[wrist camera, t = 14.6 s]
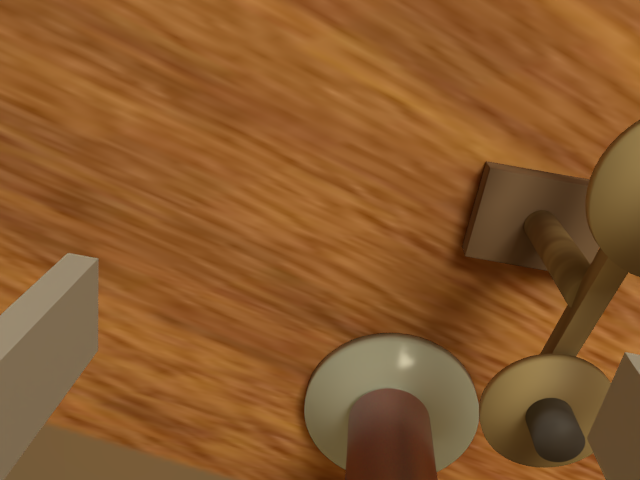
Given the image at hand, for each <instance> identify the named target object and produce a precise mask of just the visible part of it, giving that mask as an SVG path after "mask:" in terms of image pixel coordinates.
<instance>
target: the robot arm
mask: <svg viewBox="0 0 640 480" xmlns="http://www.w3.org/2000/svg"><path fill="white" fill-rule="evenodd" d="M97 351H98V258H93V257H87V256H82V255H76V254H70V253H67V254H66V255H65V256H64V257H63V258H62V259H61V260H60V261H59V262H58V263H56V264H55V265H54V266H53V267H52V268H51V269H50V270H49V271H48V272H47V273H46V274H45V275H43V276H42V277H41V278H40V279H39V280H38V281H37V282H36V283H35V284H34V285H33V286H31V287H30V288H29V289H28V290H27V291H26V292H25V293H24V294H23V295H22V296H21V297H20V298H18V299H17V300H16V301H15V302H14V303H13V304H12V305H11V306H10V307H9V308H8V309H6V310H5V311H4V312H3V313H2V314H1V315H0V480H4V479H5V478H6V476H7V475H8V473H9V472H10V471H11V469H12V468H13V466H14V465H15V464H16V462H17V461H18V460H19V458H20V457H21V456H22V454H23V453H24V451H25V450H26V449H27V447H28V446H29V444H30V443H31V442H32V440H33V439H34V438H35V436H36V435H37V433H38V432H39V431H40V429H41V428H42V427H43V425H44V424H45V423H46V421H47V420H48V418H49V417H50V416H51V414H52V413H53V412H54V410H55V409H56V407H57V406H58V405H59V403H60V402H61V401H62V399H63V398H64V396H65V395H66V394H67V392H68V391H69V389H70V388H71V387H72V385H73V384H74V383H75V381H76V380H77V378H78V377H79V376H80V374H81V373H82V372H83V370H84V369H85V367H86V366H87V365H88V363H89V362H90V361H91V359H92V358H93V356H94V355H95V354H96V352H97ZM587 440H588V442H589V444H590V446H591V448H592V450H593V453H594V455H595V457H596V459H597V461H598V464H599V466H600V468H601V470H602V472H603V474H604V477H605V479H606V480H640V355H637V354H632V353H626V352H625V353H624V356H623V358H622V360H621V362H620V365H619V367H618V369H617V371H616V374H615V376H614V378H613V380H612V383H611V385H610V387H609V389H608V392H607V394H606V396H605V398H604V401H603V403H602V405H601V407H600V410H599V412H598V414H597V416H596V419H595V421H594V423H593V425H592V428H591V430H590V432H589V434H588V437H587Z"/></svg>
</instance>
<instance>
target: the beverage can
mask: <svg viewBox="0 0 640 480" xmlns="http://www.w3.org/2000/svg"><path fill="white" fill-rule="evenodd" d="M345 480H438V479H437V471H436V463H435V456H434V448H433V440H432V432H431V424H430V417H429V413H428V411H427V409H426V407H425V405H424V404H423V403H422V402H421V401H420V400H419V399H418V398H417V397H415V396H414V395H413V394H411V393H409V392H407V391H405V390H402V389H399V388H393V387H383V388H378V389H374V390H372V391H370V392H368V393H366V394H364V395H363V396H362V397H361V398H359V399H358V400H357V401H356V402H355V404H354V405H353V407H352V408H351V410H350V413H349V421H348V439H347V457H346V475H345Z"/></svg>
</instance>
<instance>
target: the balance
mask: <svg viewBox="0 0 640 480" xmlns="http://www.w3.org/2000/svg"><path fill="white" fill-rule="evenodd" d="M599 247H600V248H599ZM462 248H463V251H464V254H465V256H467V257H472V258H478V259H484V260H489V261H495V262H501V263H506V264H512V265H518V266H523V267H529V268H534V269H540V270H546V271H548V272H549V273H550V275H551V277H552V278H553V280H554V282H555V284H556V285H557V287H558V289H559V290H560V292H561V294H562V295H563V297H564V299H565V301H566V302H567V304H568V305H567V307H566V309H565V311H564V313H563V314H562V316H561V318H560V320H559V321H558V323H557V325H556V327H555V329H554V330H553V332H552V334H551V336H550V337H549V339H548V341H547V343H546V345H545V346H544V348H543V350H542V352H541V353H540V354H539V355H534V356H530V357H527V358H523V359H521V360H518V361H516V362H514V363H512V364H510V365H508V366H507V367H505V368H504V369H502V370H501V371H500V372H498V373H497V374H496V375H495V376H494V377H493V378H492V379H491V381H490V382H489V383H488V384H487V386H486V388H485V389H484V391H483V394H482V396H481V399H480V403H479V418H480V423H481V427H482V431H483V433H484V436H485V438H486V439H487V441H488V442H489V444H490V445H491V446H492V447H493V448H494V450H496V451H497V452H498V453H499V454H501V455H502V456H504V457H505V458H507V459H509V460H511V461H513V462H516V463H519V464H522V465H526V466H532V467H557V466H563V465H567V464H571V463H574V462H576V461H579V460H581V459H583V458H585V457H588V456H589V455H591V454H592V453H593V450H592V448H591V446H590V444H589V442H588V440H587V437H588V434H589V432H590V430H591V428H592V425H593V423H594V421H595V419H596V416H597V414H598V412H599V410H600V407H601V405H602V403H603V401H604V398H605V396H606V394H607V392H608V389H609V387H610V385H611V383H610V381H609V380H608V378H607V377H606V376H605V374H604V373H603V372H602V371H601V370H600V369H598V368H597V367H596V366H594V365H593V364H591V363H589V362H587V361H586V360H583V359H581V358H578V357H576V355H577V354H578V352H579V351H580V349H581V347H582V346H583V344H584V343H585V341H586V339H587V338H588V336H589V335H590V333H591V331H592V330H593V328H594V327H595V325H596V323H597V322H598V320H599V318H600V317H601V315H602V314H603V312H604V310H605V309H606V307H607V306H608V304H609V302H610V301H611V299H612V298H613V296H614V294H615V293H616V291H617V290H618V288H619V286H620V285H621V283H622V282H623V280H624V278H625V277H626V275H627V274H628V272H629V273H631V274H634V275H636V276H639V277H640V120H639V121H637V122H636V123H634V124H633V125H631V126H630V127H628V128H627V129H626V130H625V131H624V132H622V133H621V134H620V135H619V136H618V137H617V138H616V139H615V140H614V141H613V142H612V143H611V144H610V145H609V147H608V148H607V149H606V151H605V152H604V153H603V154H602V156H601V157H600V159H599V161H598V163H597V164H596V166H595V168H594V170H593V173H592V175H591V177H590V180H589V179H583V178H577V177H571V176H566V175H560V174H554V173H549V172H543V171H537V170H532V169H526V168H520V167H515V166H509V165H503V164H498V163H492V162H486V164H485V167H484V171H483V175H482V178H481V182H480V185H479V189H478V192H477V196H476V199H475V203H474V206H473V210H472V213H471V217H470V220H469V224H468V228H467V231H466V235H465V238H464V242H463V245H462ZM598 249H599V250H598Z"/></svg>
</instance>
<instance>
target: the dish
mask: <svg viewBox="0 0 640 480" xmlns="http://www.w3.org/2000/svg"><path fill="white" fill-rule="evenodd" d="M383 387H393V388H399V389H402V390H405V391H407V392H409V393H411V394H413V395H414V396H415V397H417V398H418V399H419V400H420V401H421V402H422V403H423V404H424V405H425V407H426V409H427V411H428V413H429V417H430V424H431V432H432V440H433V448H434V456H435V463H436V471H437V472H438V471H440V470H441V469H443V468H445V467H447V466H448V465H450V464H451V463H453V462H454V461H455V460H456V459H457V458H458V457H460V456H461V455H462V454H463V452H464V451H465V450H466V449H467V448H468V446H469V445H470V443H471V441H472V440H473V438H474V435H475V433H476V430H477V426H478V423H479V403H478V399H477V395H476V391H475V387H474V384H473V381H472V379H471V377H470V375H469V373H468V372H467V370H466V369H465V367H464V366H463V365H462V364H461V362H460V361H459V360H458V359H457V358H456V357H455V356H454V355H452V354H451V353H450V352H449V351H447V350H446V349H444V348H443V347H441V346H439V345H437V344H435V343H433V342H431V341H429V340H426V339H423V338H421V337H417V336H412V335H408V334H400V333H380V334H372V335H367V336H363V337H360V338H357V339H354V340H351V341H349V342H347V343H345V344H343V345H341V346H339V347H338V348H336V349H335V350H333V351H332V352H331V353H329V354H328V355H327V356H326V357H325V358H324V359H323V360H322V361H321V362H320V363H319V365H318V366H317V367H316V369H315V371H314V372H313V374H312V376H311V378H310V381H309V384H308V387H307V392H306V398H305V407H304V414H305V421H306V426H307V429H308V431H309V434H310V436H311V438H312V440H313V441H314V443H315V444H316V446H317V447H318V448H319V450H320V451H321V452H322V453H323V454H324V455H325V456H326V457H327V458H328V459H330V460H331V461H332V462H333V463H335V464H336V465H338V466H340V467H341V468H343V469H345V470H346V457H347V439H348V421H349V413H350V410H351V408H352V407H353V405H354V404H355V402H356V401H357V400H358V399H359V398H361V397H362V396H363V395H364V394H366V393H368V392H370V391H372V390H374V389H378V388H383Z"/></svg>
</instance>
